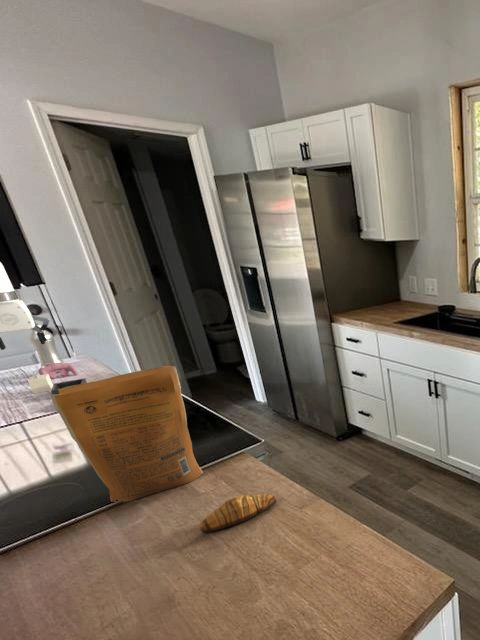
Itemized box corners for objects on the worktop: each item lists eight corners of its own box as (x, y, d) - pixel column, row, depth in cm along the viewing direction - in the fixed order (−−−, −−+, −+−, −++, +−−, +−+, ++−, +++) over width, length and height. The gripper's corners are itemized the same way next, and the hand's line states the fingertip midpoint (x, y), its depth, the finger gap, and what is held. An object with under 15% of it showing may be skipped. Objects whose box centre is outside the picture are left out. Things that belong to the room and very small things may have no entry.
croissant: (205, 543, 77) (197, 522, 75) (198, 526, 81) (190, 505, 80) (282, 510, 86) (277, 490, 84) (272, 496, 90) (267, 477, 88)
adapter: (54, 398, 143) (50, 390, 142) (57, 391, 150) (54, 383, 148) (86, 392, 148) (83, 385, 147) (88, 385, 154) (85, 378, 153)
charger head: (33, 393, 147) (26, 377, 145) (36, 389, 152) (28, 373, 149) (51, 390, 150) (44, 374, 148) (53, 386, 154) (46, 370, 152)
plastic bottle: (44, 372, 169) (23, 324, 162) (68, 368, 173) (48, 322, 166) (43, 376, 165) (21, 327, 157) (67, 372, 169) (47, 324, 162)
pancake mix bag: (212, 479, 97) (175, 367, 86) (102, 514, 85) (45, 390, 75) (208, 467, 101) (173, 359, 91) (103, 499, 90) (50, 380, 80)
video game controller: (78, 376, 168) (69, 361, 167) (79, 373, 165) (70, 357, 165) (43, 384, 160) (34, 368, 159) (44, 381, 157) (35, 364, 157)
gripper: (-43, 302, 131) (-16, 353, 138) (36, 295, 142) (57, 343, 148) (-36, 299, 137) (-11, 349, 143) (39, 293, 147) (59, 339, 154)
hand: (24, 346), depth 146 cm, fingers open, 9 cm apart
